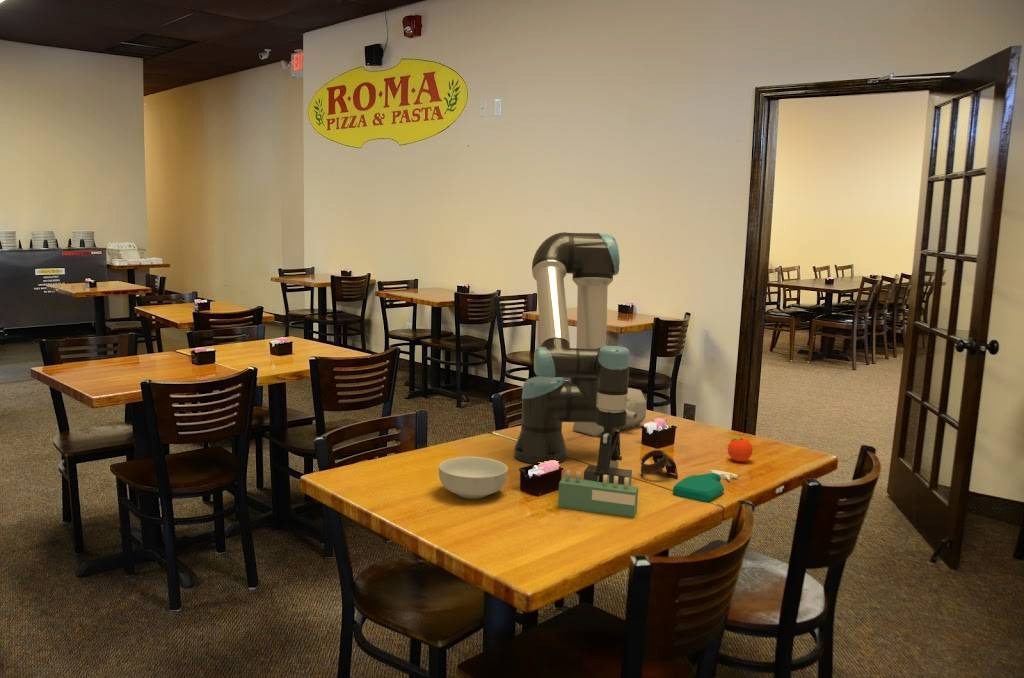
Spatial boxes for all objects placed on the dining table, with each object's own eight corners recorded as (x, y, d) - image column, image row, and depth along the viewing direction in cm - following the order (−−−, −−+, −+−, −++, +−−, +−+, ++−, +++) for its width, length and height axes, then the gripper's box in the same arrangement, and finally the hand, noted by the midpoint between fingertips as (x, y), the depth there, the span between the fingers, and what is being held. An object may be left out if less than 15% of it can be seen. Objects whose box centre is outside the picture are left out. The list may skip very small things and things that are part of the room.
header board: (557, 507, 190) (559, 472, 188) (562, 501, 194) (564, 467, 193) (633, 518, 184) (635, 482, 183) (636, 511, 189) (639, 476, 188)
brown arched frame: (682, 484, 212) (671, 459, 209) (649, 496, 214) (637, 472, 211) (677, 460, 223) (665, 436, 220) (645, 472, 225) (633, 448, 222)
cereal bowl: (454, 509, 186) (455, 479, 185) (427, 487, 201) (428, 460, 200) (518, 500, 194) (519, 471, 193) (488, 479, 209) (489, 453, 208)
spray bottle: (668, 495, 202) (704, 474, 222) (710, 505, 196) (742, 482, 216) (669, 484, 202) (704, 464, 222) (711, 493, 195) (743, 472, 216)
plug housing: (583, 494, 200) (584, 471, 199) (587, 487, 205) (588, 464, 204) (627, 500, 196) (628, 476, 195) (630, 493, 202) (632, 470, 201)
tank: (610, 442, 250) (612, 402, 248) (571, 431, 261) (573, 393, 259) (656, 429, 267) (659, 393, 266) (618, 420, 279) (620, 385, 277)
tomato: (721, 462, 232) (723, 438, 231) (724, 456, 238) (726, 432, 237) (750, 466, 229) (752, 442, 228) (752, 460, 235) (754, 436, 234)
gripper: (617, 421, 185) (613, 511, 188) (634, 401, 208) (630, 480, 211) (585, 418, 187) (581, 506, 190) (605, 398, 210) (601, 477, 213)
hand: (607, 493), depth 200 cm, fingers open, 12 cm apart
